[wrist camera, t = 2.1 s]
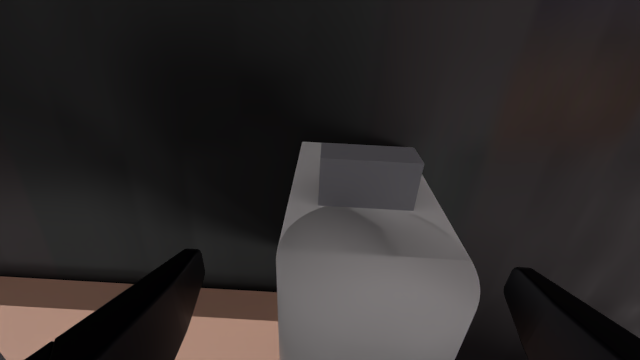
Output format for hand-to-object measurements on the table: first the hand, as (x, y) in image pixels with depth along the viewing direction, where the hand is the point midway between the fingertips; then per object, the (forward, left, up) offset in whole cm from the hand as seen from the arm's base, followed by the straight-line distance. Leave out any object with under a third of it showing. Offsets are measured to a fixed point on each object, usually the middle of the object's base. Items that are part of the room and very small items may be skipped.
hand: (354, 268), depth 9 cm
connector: (0, 0, -3) cm, 3 cm away
